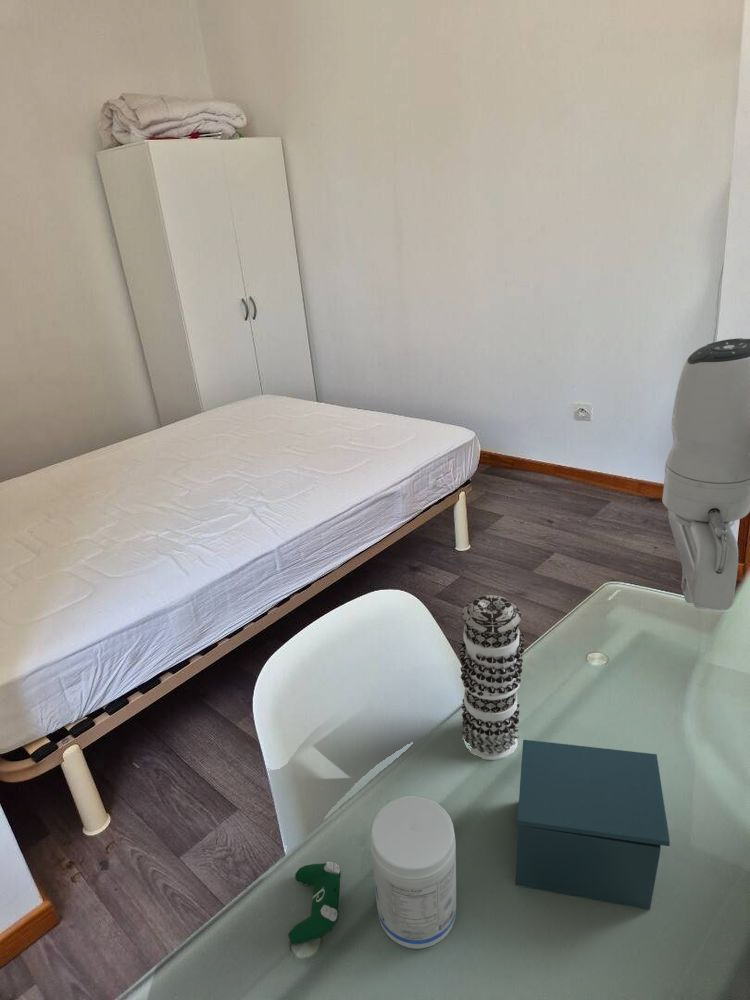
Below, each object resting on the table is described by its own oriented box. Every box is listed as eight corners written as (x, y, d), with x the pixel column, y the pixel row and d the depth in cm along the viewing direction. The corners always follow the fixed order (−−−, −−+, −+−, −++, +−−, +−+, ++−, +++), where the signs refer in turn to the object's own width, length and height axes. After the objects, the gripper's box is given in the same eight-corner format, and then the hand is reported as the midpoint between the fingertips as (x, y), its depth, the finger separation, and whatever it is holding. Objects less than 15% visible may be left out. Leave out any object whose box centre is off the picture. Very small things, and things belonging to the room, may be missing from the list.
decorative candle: (532, 737, 106) (539, 602, 95) (496, 772, 100) (498, 634, 89) (485, 708, 112) (486, 579, 101) (448, 740, 106) (445, 607, 95)
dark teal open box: (640, 819, 92) (648, 760, 87) (650, 910, 81) (660, 848, 76) (520, 801, 95) (523, 744, 91) (515, 885, 85) (517, 825, 80)
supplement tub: (377, 875, 87) (369, 794, 80) (452, 873, 87) (450, 790, 80) (377, 955, 78) (368, 870, 72) (461, 952, 78) (459, 867, 71)
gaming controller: (309, 957, 80) (343, 933, 78) (284, 943, 79) (317, 919, 77) (316, 882, 88) (346, 859, 86) (293, 869, 87) (323, 846, 85)
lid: (656, 758, 86) (656, 753, 86) (669, 846, 76) (670, 841, 75) (523, 743, 91) (523, 739, 90) (517, 825, 80) (517, 820, 79)
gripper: (763, 539, 65) (740, 655, 71) (720, 455, 83) (704, 554, 89) (691, 535, 67) (674, 649, 73) (664, 454, 84) (652, 551, 90)
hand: (690, 596), depth 81 cm, fingers closed
